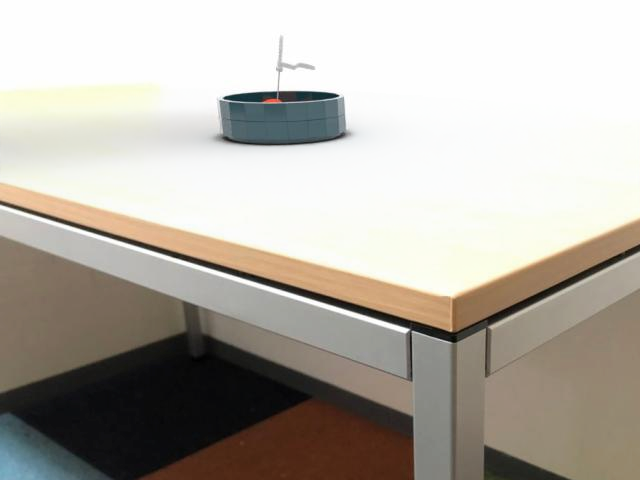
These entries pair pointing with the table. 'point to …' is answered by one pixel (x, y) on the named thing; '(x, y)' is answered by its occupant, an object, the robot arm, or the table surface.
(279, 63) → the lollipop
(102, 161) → the table surface
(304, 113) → the bowl
